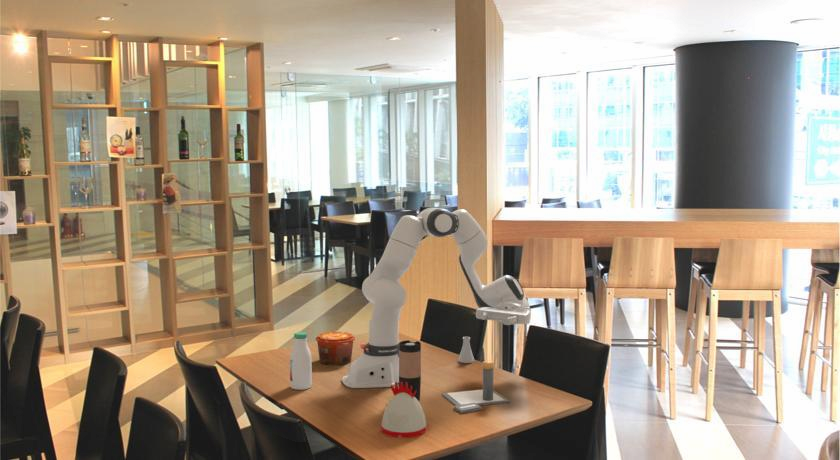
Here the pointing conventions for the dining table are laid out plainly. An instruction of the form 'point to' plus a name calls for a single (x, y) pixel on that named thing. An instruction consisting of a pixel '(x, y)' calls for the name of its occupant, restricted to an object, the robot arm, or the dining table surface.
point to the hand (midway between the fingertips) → (496, 319)
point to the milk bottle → (300, 363)
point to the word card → (467, 408)
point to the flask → (466, 352)
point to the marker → (488, 380)
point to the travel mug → (410, 366)
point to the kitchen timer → (403, 414)
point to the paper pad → (473, 397)
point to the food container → (335, 347)
